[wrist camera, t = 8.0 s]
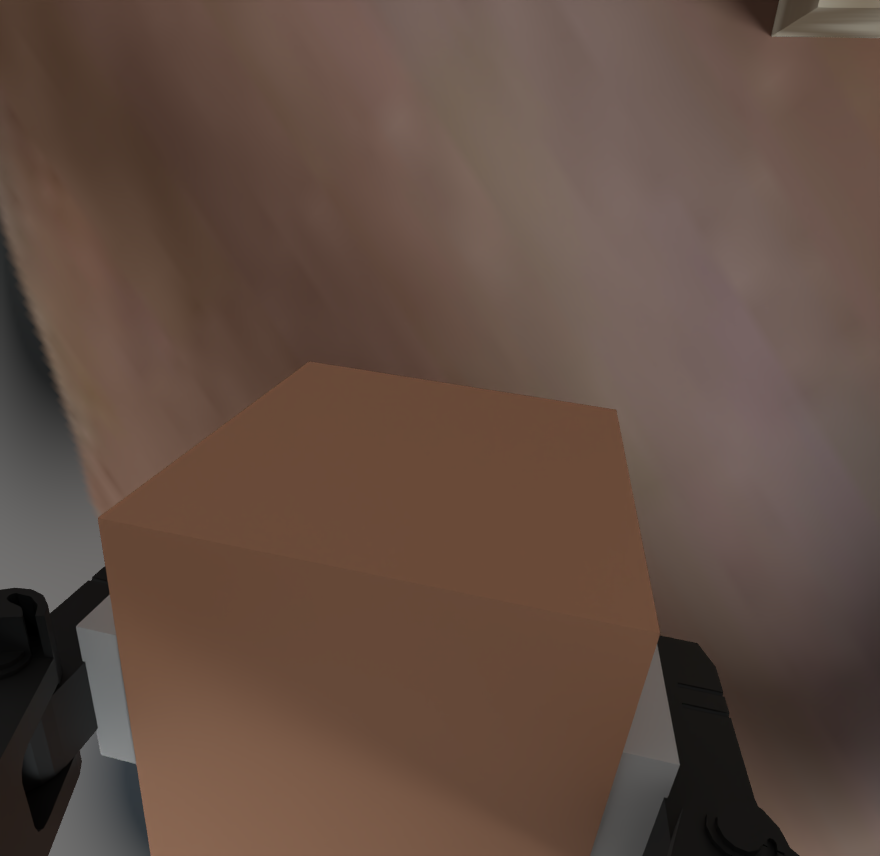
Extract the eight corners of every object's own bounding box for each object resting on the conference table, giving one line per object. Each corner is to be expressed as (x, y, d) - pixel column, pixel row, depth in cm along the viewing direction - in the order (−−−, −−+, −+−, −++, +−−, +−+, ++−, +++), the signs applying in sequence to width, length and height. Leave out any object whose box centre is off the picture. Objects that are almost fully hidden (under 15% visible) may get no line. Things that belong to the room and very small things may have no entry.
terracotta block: (615, 409, 13) (660, 633, 7) (559, 654, 16) (553, 972, 10) (309, 361, 14) (97, 518, 8) (307, 600, 17) (151, 858, 11)
